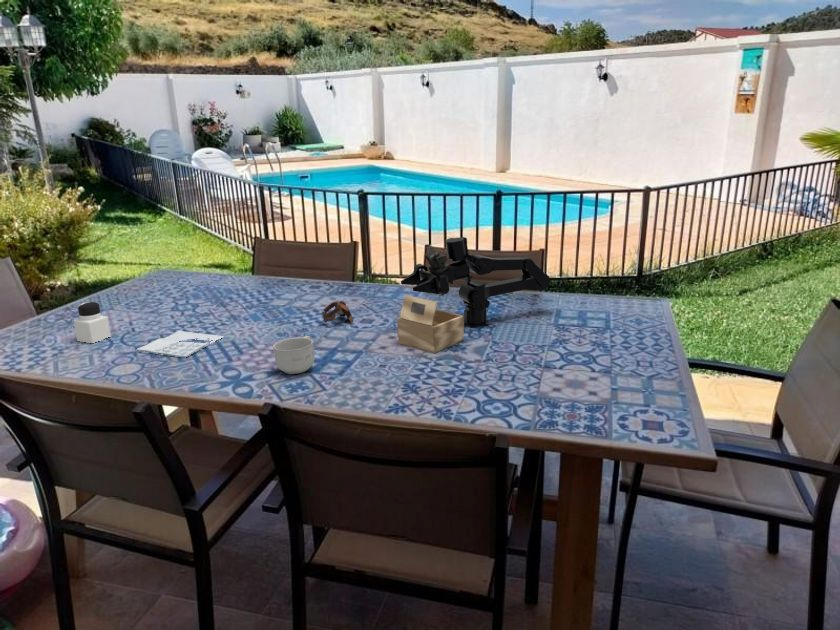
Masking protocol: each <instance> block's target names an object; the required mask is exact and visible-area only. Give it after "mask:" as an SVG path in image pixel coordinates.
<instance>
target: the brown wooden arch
mask: <svg viewBox="0 0 840 630" xmlns="http://www.w3.org/2000/svg"><path fill="white" fill-rule="evenodd" d="M333 308H334V309H333ZM330 310H331V311H330ZM336 315H339V317H343V318H344V317H346V319H347V321H349V322H350V325H352V324H353V323H354V319H353V315H352V313H351V311H350V308H349V307H347V304H346V303H345V301H342V300H340V301H339V300H338V301H333V302H331V303H329V304H328V305H326V306H325V307H324V308H323V311H322V312H321V316H322V321H323V322H324V323H327V322H328V321H331V320H335V321H336V320H337V318H336Z"/></svg>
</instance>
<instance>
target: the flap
mask: <svg viewBox="0 0 840 630" xmlns="http://www.w3.org/2000/svg"><path fill="white" fill-rule="evenodd" d="M437 305H438V301H434V300H430V299H426V298H421V297H416V296H412V295H407V294H404V297H403V301H402V307H401V310H400V311H401V312H400V316H399V317H400V318H403V319H407V320H411V321H415V322H419V323H423V324H427V325H431V326H432V324H433V320H434V315H435V310H436V309H437Z"/></svg>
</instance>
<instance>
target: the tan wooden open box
mask: <svg viewBox="0 0 840 630" xmlns="http://www.w3.org/2000/svg"><path fill="white" fill-rule="evenodd" d="M396 326H397V327H396V328H397V329H396V330H397V338H398V345H399V344H400V345H403V346H406V347H410V348H414V349H417V350H420V351H423V352H427V353H430V354H436V353H438V352H440V351H443V350H445V349H447V348H449V347H453V346H455V345H457V344H459V343H461V342H463V341H464V335H465V334H464V333H465V332H464V331H465V329H464V328H465V327H464V326H465V323H464V314H463V315H462V314H458V313H453V312H449V311H445V310H441V309H437V308H436V310H435V315H434V320H433V324H432V326H431V325H427V324H423V323H419V322H415V321H411V320H407V319H403V318H400V316H399V317H397V318H396Z"/></svg>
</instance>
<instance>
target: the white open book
mask: <svg viewBox="0 0 840 630" xmlns="http://www.w3.org/2000/svg"><path fill="white" fill-rule="evenodd" d="M223 337H224V338H225V336H223V335H216V334H208V333H199V332H190V331H183V330H177V331H176V332H173V333H172V334H170V335H168V336H166V337H163V338H161V337H158V338H157V339H156V340H153V341H151V342H149V343H148V344H145V345H143V346H141V347H138V348H136V351H137V350H138V351H145V352H151V353H158V354H163V355H170V356H177V357H176V358H178V357H184V358H183V359H186V358H185V357H187V358H189V357H190V355H191V354H193V353H194V352H196V351H198V350H200V349H202V348H204V347H206V346H208V344H211V343H213V342H215V341H216V340H218V339H221V338H223ZM224 338H223V339H224ZM187 339H195V340H196V339H197V340H204V341H211V340H213V341H211V342H206V343H194V342H179V341H182V340H187ZM221 340H222V339H221ZM206 348H207V347H206ZM204 349H205V348H204ZM202 350H203V349H202ZM200 351H201V350H200ZM198 352H199V351H198ZM196 353H197V352H196ZM194 354H195V353H194ZM194 354H193V355H194ZM163 355H162V356H163ZM170 356H169V357H170ZM188 356H189V357H188ZM191 356H192V355H191Z"/></svg>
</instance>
